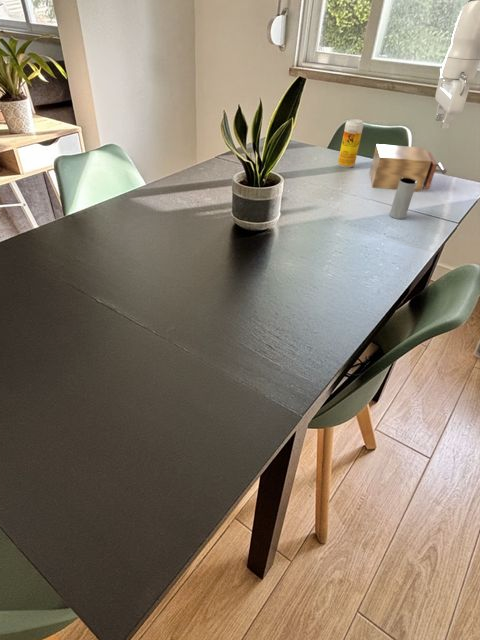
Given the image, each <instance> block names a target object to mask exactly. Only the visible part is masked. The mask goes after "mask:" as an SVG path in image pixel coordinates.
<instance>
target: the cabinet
mask: <svg viewBox="0 0 480 640" xmlns="http://www.w3.org/2000/svg"><path fill="white" fill-rule="evenodd" d="M430 164H431V160H430V158H429V156H428V154H427V150H426V149H425V147H418V146H405V145H393V144H379V143H376V145H375V149H374V153H373V157H372V160H371V164H370V169H369V178H370V183H371V188H375V189H386V190H396V191H397V187H398V184H399V181H400V179H401V178H411V179H414V180H416V181H417V183H416V187H415V190H414V192H420V193H422V190H423V188H424V182H425V179H426V176H427V173H428V170H429V167H430Z"/></svg>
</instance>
